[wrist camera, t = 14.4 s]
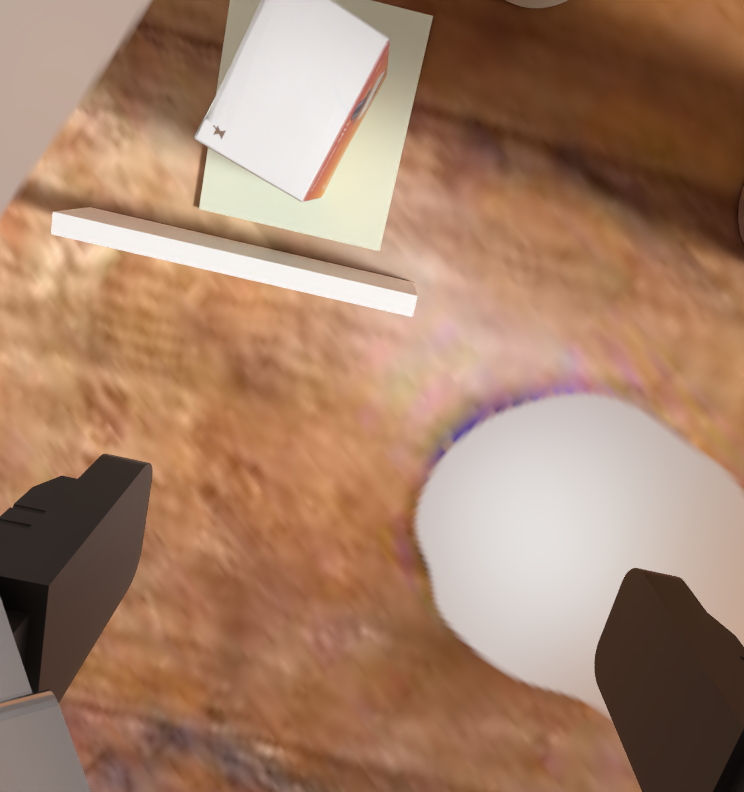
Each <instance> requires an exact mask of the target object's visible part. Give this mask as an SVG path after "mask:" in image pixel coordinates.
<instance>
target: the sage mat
mask: <svg viewBox="0 0 744 792" xmlns="http://www.w3.org/2000/svg"><path fill="white" fill-rule="evenodd" d="M260 1H261V0H230V2H229V9H228V16H227V23H226V29H225V36H224V43H223V50H222V56H221V63H220V70H219V77H218V84H217V90H216V94H217V92H218V90H219V88H220V86H221V84H222V82H223V80H224V78H225V75H226V73H227V71H228V69H229V67H230V65H231V63H232V61H233V59H234V57H235V55H236V52H237V50H238V48H239V46H240V44H241V42H242V40H243V37H244V35H245V33H246V31H247V29H248V27H249V25H250V23H251V21H252V18H253V16H254V14H255V12H256V10H257V8H258V5H259V3H260ZM334 1H335V2H337V3H338V4H340V5H341V6H343V7H344V8H346V9H347V10H349V11H350V12H352V13H353V14H355V15H356V16H358V17H359V18H361V19H362V20H364V21H365V22H367V23H368V24H370V25H371V26H373V27H374V28H376V29H377V30H379V31H380V32H382V33H383V34H385V35H386V36H388V37H389V38H390V45H389V56H388V67H387V76H386V78H385V80H384V82H383V83H382V85H381V87H380V89H379V91H378V93H377V95H376V96H375V98H374V100H373V102H372V104H371V106H370V107H369V109H368V111H367V113H366V115H365V117H364V118H363V120H362V122H361V124H360V126H359V127H358V129H357V131H356V133H355V135H354V137H353V138H352V140H351V142H350V144H349V146H348V147H347V149H346V151H345V153H344V155H343V157H342V159H341V160H340V162H339V164H338V166H337V168H336V170H335V172H334V174H333V176H332V178H331V180H330V182H329V184H328V186H327V188H326V190H325V192H324V194H323V196H322V197H321V198H318V199H314V200H310V201H306V202H300V201H298V200H297V199H295V198H293V197H292V196H290V195H288V194H286V193H285V192H283V191H281V190H280V189H278V188H276V187H274V186H273V185H271V184H269V183H267V182H266V181H264V180H262V179H261V178H259V177H257V176H256V175H254V174H252V173H250V172H249V171H247V170H245V169H244V168H242V167H240V166H239V165H237V164H235V163H233V162H232V161H230V160H228V159H227V158H225V157H223V156H222V155H220V154H218V153H217V152H215V151H213V150H212V149H210V148H208V151H207V158H206V165H205V172H204V178H203V185H202V192H201V199H200V205H199V209H201V210H206V211H210V212H214V213H218V214H223V215H227V216H231V217H236V218H240V219H244V220H248V221H253V222H257V223H261V224H265V225H270V226H274V227H278V228H282V229H287V230H291V231H295V232H300V233H304V234H308V235H312V236H317V237H321V238H325V239H329V240H334V241H338V242H342V243H346V244H351V245H355V246H359V247H364V248H368V249H372V250H376V251H379V250H380V246H381V242H382V237H383V233H384V229H385V224H386V220H387V215H388V211H389V207H390V202H391V198H392V194H393V189H394V185H395V181H396V176H397V172H398V167H399V163H400V159H401V154H402V150H403V146H404V141H405V137H406V133H407V128H408V124H409V119H410V115H411V111H412V106H413V102H414V98H415V93H416V89H417V84H418V80H419V76H420V71H421V67H422V63H423V58H424V54H425V50H426V45H427V41H428V36H429V32H430V28H431V23H432V19H433V16H431V15H427V14H423V13H419V12H415V11H411V10H408V9H404V8H400V7H396V6H392V5H388V4H384V3H380V2H376V1H372V0H334Z"/></svg>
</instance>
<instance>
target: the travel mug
mask: <svg viewBox="0 0 744 792" xmlns="http://www.w3.org/2000/svg"><path fill="white" fill-rule="evenodd" d="M506 1H508V2H510V3H512V4H515V5H518V6H521V7H527V8H546V7H551V6H555V5H558V4H561V3H564V2H566V1H568V0H506Z"/></svg>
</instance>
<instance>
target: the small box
mask: <svg viewBox="0 0 744 792" xmlns="http://www.w3.org/2000/svg"><path fill="white" fill-rule="evenodd" d="M389 45H390V38H389V37H388V36H386V35H385V34H383V33H382V32H380V31H379V30H377V29H376V28H374V27H373V26H371V25H370V24H368V23H367V22H365V21H364V20H362V19H361V18H359V17H358V16H356V15H355V14H353V13H352V12H350V11H349V10H347V9H346V8H344V7H343V6H341V5H340V4H338V3H337V2H335V1H334V0H261V1H260V3H259V5H258V8H257V10H256V12H255V14H254V16H253V18H252V21H251V23H250V25H249V27H248V29H247V31H246V33H245V35H244V37H243V40H242V42H241V44H240V46H239V48H238V50H237V52H236V55H235V57H234V59H233V61H232V63H231V65H230V67H229V69H228V71H227V73H226V75H225V78H224V80H223V82H222V84H221V86H220V88H219V90H218V92H217V94H216V96H215V98H214V100H213V102H212V104H211V106H210V108H209V110H208V112H207V114H206V116H205V117H204V119H203V121H202V123H201V125H200V126H199V128H198V130H197V132H196V134H195V136H194V138H195V140H196V141H198V142H200V143H201V144H203V145H205V146H207V147H208V148H210V149H212V150H213V151H215V152H217V153H218V154H220V155H222V156H223V157H225V158H227V159H228V160H230V161H232V162H233V163H235V164H237V165H239V166H240V167H242V168H244V169H245V170H247V171H249V172H250V173H252V174H254V175H256V176H257V177H259V178H261V179H262V180H264V181H266V182H267V183H269V184H271V185H273V186H274V187H276V188H278V189H280V190H281V191H283V192H285V193H286V194H288V195H290V196H292V197H293V198H295V199H297V200H298V201H300V202H306V201H310V200H314V199H318V198H321V197H322V196H323V194H324V192H325V190H326V188H327V186H328V184H329V182H330V180H331V178H332V176H333V174H334V172H335V170H336V168H337V166H338V164H339V162H340V160H341V159H342V157H343V155H344V153H345V151H346V149H347V147H348V146H349V144H350V142H351V140H352V138H353V137H354V135H355V133H356V131H357V129H358V127H359V126H360V124H361V122H362V120H363V118H364V117H365V115H366V113H367V111H368V109H369V107H370V106H371V104H372V102H373V100H374V98H375V96H376V95H377V93H378V91H379V89H380V87H381V85H382V83H383V82H384V80H385V78H386V76H387V67H388V56H389Z"/></svg>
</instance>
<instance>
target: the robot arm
mask: <svg viewBox="0 0 744 792" xmlns="http://www.w3.org/2000/svg"><path fill="white" fill-rule="evenodd" d="M738 223H739V229H740V235H741V238H742V240H743V243H744V185H743V189H742V193H741V196H740V200H739V210H738ZM151 482H152V465H151V464H150V463H147V462H142V461H137V460H133V459H128V458H123V457H119V456H114V455H109V454H102V455H101V456H100V457H99V458H98V459H97V460H96V461H95V462H94V463H93V464H92V465H91V466H90V467H89V468H88V469H87V470H86V471H85V472H84V473H83V474H82V475H81V476H80V477H79V478H78V479H75V478H70V477H65V476H60V477H57V478H55V479H52V480H50V481H47V482H45V483H42V484H40V485H37V486H35V487H32V488H31V489H30V490H29V491H28V492H27V493H26V494H25V495H23V496H22V497H21V498H20V499H19V500H18V501H17V502H16V503H15V504H14V506H13V508H9V509H8V510H7V511H6V512H5V513H4V514H2V515H1V516H0V792H91V791H90V788H89V785H88V783H87V780H86V777H85V774H84V772H83V769H82V766H81V764H80V761H79V758H78V755H77V753H76V750H75V747H74V744H73V742H72V739H71V736H70V734H69V731H68V728H67V725H66V723H65V720H64V717H63V714H62V712H61V709H60V706H59V704H58V703H59V702H60V700H61V699H62V697H63V695H64V694H65V692H66V690H67V689H68V687H69V685H70V684H71V682H72V680H73V679H74V677H75V676H76V674H77V672H78V671H79V669H80V667H81V666H82V664H83V662H84V661H85V659H86V657H87V656H88V654H89V652H90V651H91V649H92V648H93V646H94V644H95V643H96V641H97V639H98V638H99V636H100V634H101V633H102V631H103V629H104V628H105V626H106V625H107V623H108V621H109V620H110V618H111V616H112V615H113V613H114V611H115V610H116V608H117V606H118V605H119V603H120V602H121V600H122V598H123V597H124V595H125V593H126V592H127V590H128V588H129V586H130V584H131V582H132V580H133V578H134V575H135V572H136V569H137V566H138V563H139V559H140V555H141V550H142V544H143V537H144V530H145V523H146V516H147V509H148V502H149V495H150V488H151ZM595 677H596V682H597V685H598V687H599V690H600V692H601V694H602V697H603V699H604V701H605V704H606V706H607V709H608V711H609V713H610V716H611V718H612V721H613V723H614V725H615V728H616V730H617V733H618V735H619V737H620V740H621V742H622V745H623V747H624V749H625V752H626V754H627V756H628V759H629V761H630V764H631V766H632V768H633V771H634V773H635V776H636V778H637V780H638V783H639V785H640V787H641V790H642V792H744V647H743V645H742V644H741V643H740V641H739V640H738V639H737V637H736V636H735V635H734V634H732V633H731V632H730V631H729V630H728V629H726V628H725V627H724V626H723V625H722V624H720V623H719V622H718V621H717V620H716V619H714V618H713V617H712V616H711V615H710V614H708V613H707V612H706V610H705V609H704V608H703V606H702V605H701V604H700V602H699V601H698V600H697V598H696V597H695V596H694V594H693V593H692V591H691V590H690V589H689V587H688V586H687V585H686V584H685V582H684V581H683V580H682V579H681V578H679V577H676V576H671V575H667V574H662V573H657V572H652V571H647V570H643V569H638V568H633V569H631V570H630V571H629V572H628V573H627V574H626V575H625V577H624V579H623V581H622V584H621V586H620V589H619V592H618V594H617V596H616V599H615V602H614V604H613V607H612V609H611V612H610V614H609V617H608V619H607V622H606V625H605V628H604V630H603V632H602V635H601V637H600V640H599V643H598V646H597V649H596V654H595Z"/></svg>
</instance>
